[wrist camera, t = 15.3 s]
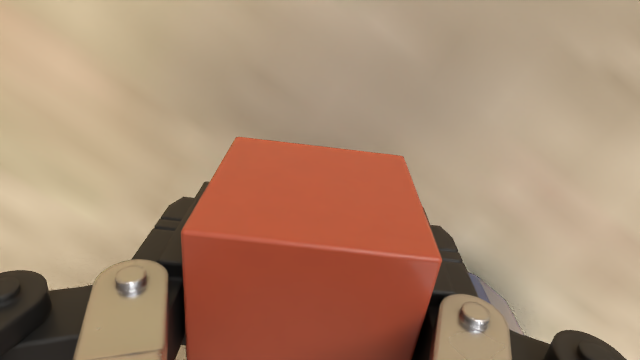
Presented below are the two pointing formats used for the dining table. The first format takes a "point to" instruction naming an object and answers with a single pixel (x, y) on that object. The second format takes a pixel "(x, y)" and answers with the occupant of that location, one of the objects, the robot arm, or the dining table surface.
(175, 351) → the robot arm
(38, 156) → the dining table surface
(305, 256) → the block
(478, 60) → the dining table surface
